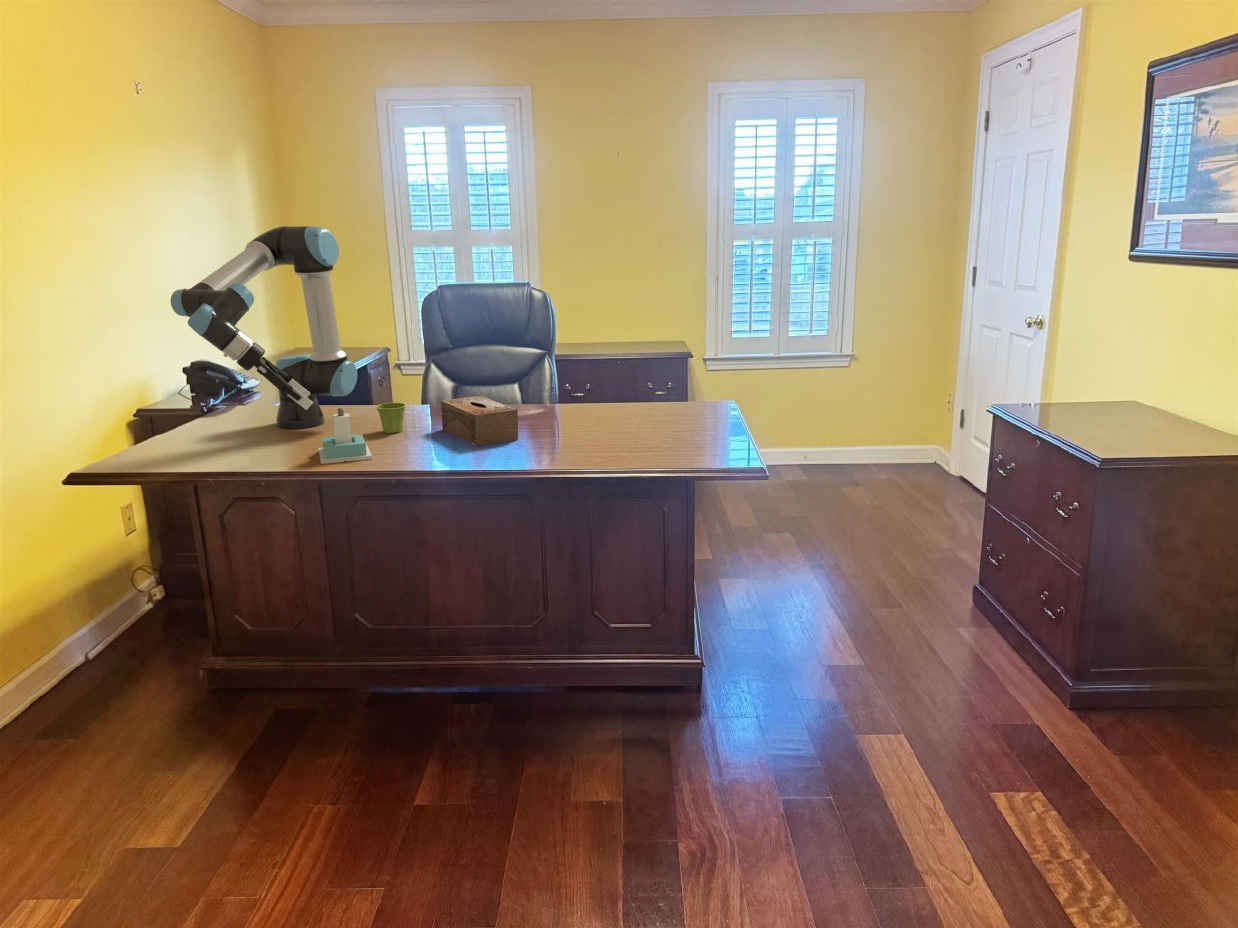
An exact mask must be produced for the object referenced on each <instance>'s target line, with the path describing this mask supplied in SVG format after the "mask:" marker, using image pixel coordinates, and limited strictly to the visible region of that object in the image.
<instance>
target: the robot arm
mask: <svg viewBox="0 0 1238 928" xmlns="http://www.w3.org/2000/svg"><path fill="white" fill-rule="evenodd" d="M339 256H340V250H339V245H338V241H337V239H336V237H335V236H334V235H333V233H332V232H331V231H330V230H329V229H327V228H325V227H321V226H313V225H312V226H311V225H310V226H309V225H308V226H279V227H275V228H272V229H270V230H267V231H266V232H263V233H262V234H260V235H258V236H257V237H255V238H253V239H252V240H251V241H249V242H247V244H246V245H245V248H244V250H243V251H241V252H240V253H239V254H237V255H236V256H234V257H233V258H231V259H230V260H229V261H227V262H226V263H225V264H223V265H221V267H219V268H218V269H216V270H214V271H213V272H212V273H210V274H209V275H207V276H206V277H205V278H203V279H202V280H201V281H199V282H198V283H196V284H195V285H194V286H192V287H191V288H182V289H176V290H175V291H173V292H172V294H171V296H170V306H171V308H172V310H173V311H174V313H175V314H176V315H178V316H181V317H187V318H188V320H187V325H188V326H189V327H190V328H191V329H192V330H193V331H194V332H195V333H197V335H198V336H199V337H202V338H203V339H204V340H206V342H208V343H210V344H211V345H212V346H214V347H215V348H216V349H218V350H219V351H220V352H222V353H224V354H223V357H225V358H227V357H228V358H230V359H231V360H232V361H236V364H237V365H238V366H240V367H241V368H242V369H244V371H247V372H248V371H250V370H251V369H252V368H253V367H255V368H256V372H257V373H259V375H261V376H263V377H264V378H265V379H266V380H267V381H268V382H269V383H270V384H272V385H273V386H274V387H275V388H277V390H278V394H279V395H278V396H279V406H278V410H277V415H276V421H275V422H276V426H277V427H279V428H282V429H306V428H311V427H317V426H320V425H323V424H324V423H325V415H324V413H323V410H322V409H321V406H320V404H319V402H318V399H317V396H331V397H344V396H345V397H346V396H348V395H349V394H351V392H352V391H353V390H354V389H355V386H356V384H357V380H358V369H357V365H356V364H355V362H353V361H351V360H348V354H347V352H345V351H344V350H343V349H342V346H341V342H340V341H341V340H340V335H339V327H338V322H337V321H338V320H337V314H336V308H335V302H334V296H333V291H332V283H331V276H330V275H331V274H332V273H333V271H334V270H335V269H334V266H335V265H336V264H337V263H338V261H339V258H338V257H339ZM284 265H285V266H287V265H290V266H293V270H294V274H296V275H297V276H298V277H299V278H300V280H301V285H302V287H301V288H302V292H303V298H304V304H305V308H306V309H305V311H306V316H307V322H308V328H309V334H310V339H311V340H310V341H311V346H312V350H313V352H312V353H305V354H303V353H302V354H297V355H289V356H285V357H281V358H278V359H277V360H276V362H275V364H273V362H271V360H269V359H267V358H266V357H264V355H265V353H266V350H265V349H264V348H263V347H262V346H261V345H260V344H258V343H256V342H253V339H252V338H251V337H250V336H248V335H247V334H246V333H245V332H243V331H242V330H240V329H239V328H238V327H237V326H236V325H237V324H238V323H239V322H240V320H242V318H243V317H244V316H245V315H246V313H247V312H249V311H250V308H251V307H252V306H253V304H254V303H255V296H254V294H253V292H252V290H251V289H250V288H248V287H247V286H246V283H248V282H250V281H251V280H252V279H253V278H255V277H256V276H258V275H259V274H260V273H262V272H263V271H266V272H267V271H270V270H271V269H273V268H275V267H278V266H284Z"/></svg>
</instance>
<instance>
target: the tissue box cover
mask: <svg viewBox="0 0 1238 928" xmlns="http://www.w3.org/2000/svg"><path fill="white" fill-rule="evenodd" d="M440 409H441V411H440V412H441V429H442V430H443V431H444V432H446V433H448V434H451V435H453V436H454V437H457V438H459V439H461V440H463V441H465V442H468V443H469V444H471V443H473V444H475V445H482V444H488V445H491V444H490V443H494V444H498V443H499V444H500V443H506V442H512V441H511V440H513V441H517V440H516V439H518V440H519V418H518V414H519V413H518V409H517V408H514V407H512V406H509V405H506V404H504V403H501V402H498V401H496V400H493V399H490V398H488V397H486V396H483V395H476V396H468V397H461V398H452V399H446V400H445V399H444V400H440ZM473 444H472V445H473ZM475 445H474V446H475ZM482 446H483V445H482Z"/></svg>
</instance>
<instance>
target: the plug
mask: <svg viewBox="0 0 1238 928" xmlns="http://www.w3.org/2000/svg"><path fill="white" fill-rule="evenodd" d="M344 412H345V411H344V408H343V407H339V408H337V413H335V414H332V421H333V422H332V423H333V430H334V432H333V433H334V437H335V443H336V444H340V443H352V437H351V435H352V430H351V429H352V427H351V417H350V414H349V413H344Z"/></svg>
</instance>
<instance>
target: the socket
mask: <svg viewBox="0 0 1238 928" xmlns="http://www.w3.org/2000/svg"><path fill="white" fill-rule="evenodd" d="M351 437H352V443H340V444H336V443H335V436H326V437H321V441H322V447H320V448H317V450H318V455H319V461H320V464H321V465H323V464H335V463H345V462H344V461H347V462H355V461H364V460H367V459H368V460H373V456H372V453H371V451H370V448H369V446H368V444H367V442H366V441H365V437H364V435H363V434H351Z"/></svg>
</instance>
